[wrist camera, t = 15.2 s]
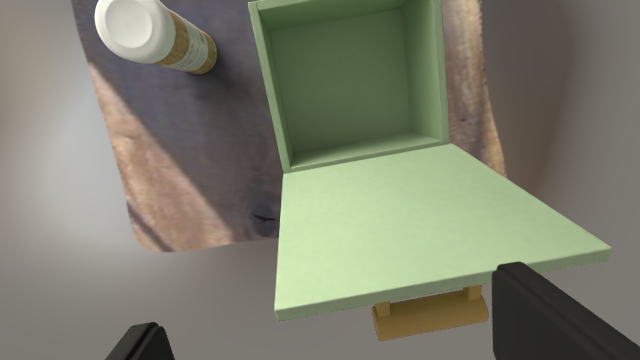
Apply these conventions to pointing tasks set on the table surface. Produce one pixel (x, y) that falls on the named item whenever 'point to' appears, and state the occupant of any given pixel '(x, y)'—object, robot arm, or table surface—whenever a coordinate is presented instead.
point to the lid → (413, 239)
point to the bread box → (352, 78)
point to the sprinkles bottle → (154, 35)
